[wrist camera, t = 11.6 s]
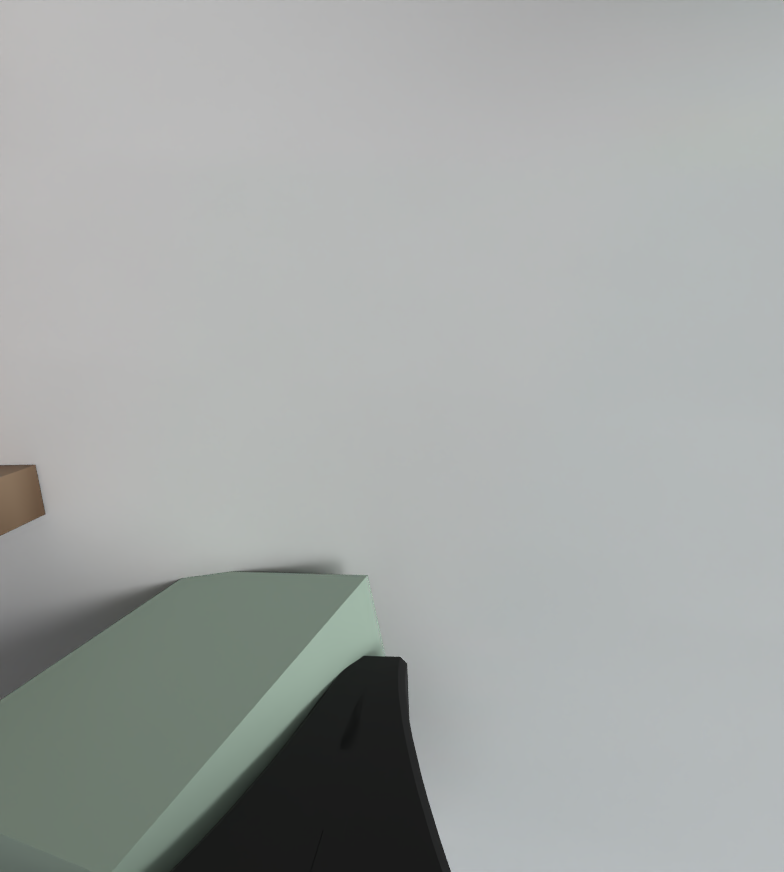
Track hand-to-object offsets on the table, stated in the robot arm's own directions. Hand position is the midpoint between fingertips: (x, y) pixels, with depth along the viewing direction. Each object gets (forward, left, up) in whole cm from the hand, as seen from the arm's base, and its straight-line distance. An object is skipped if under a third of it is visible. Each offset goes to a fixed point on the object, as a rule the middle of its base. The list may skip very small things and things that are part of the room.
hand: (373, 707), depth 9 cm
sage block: (0, +2, -1) cm, 2 cm away
